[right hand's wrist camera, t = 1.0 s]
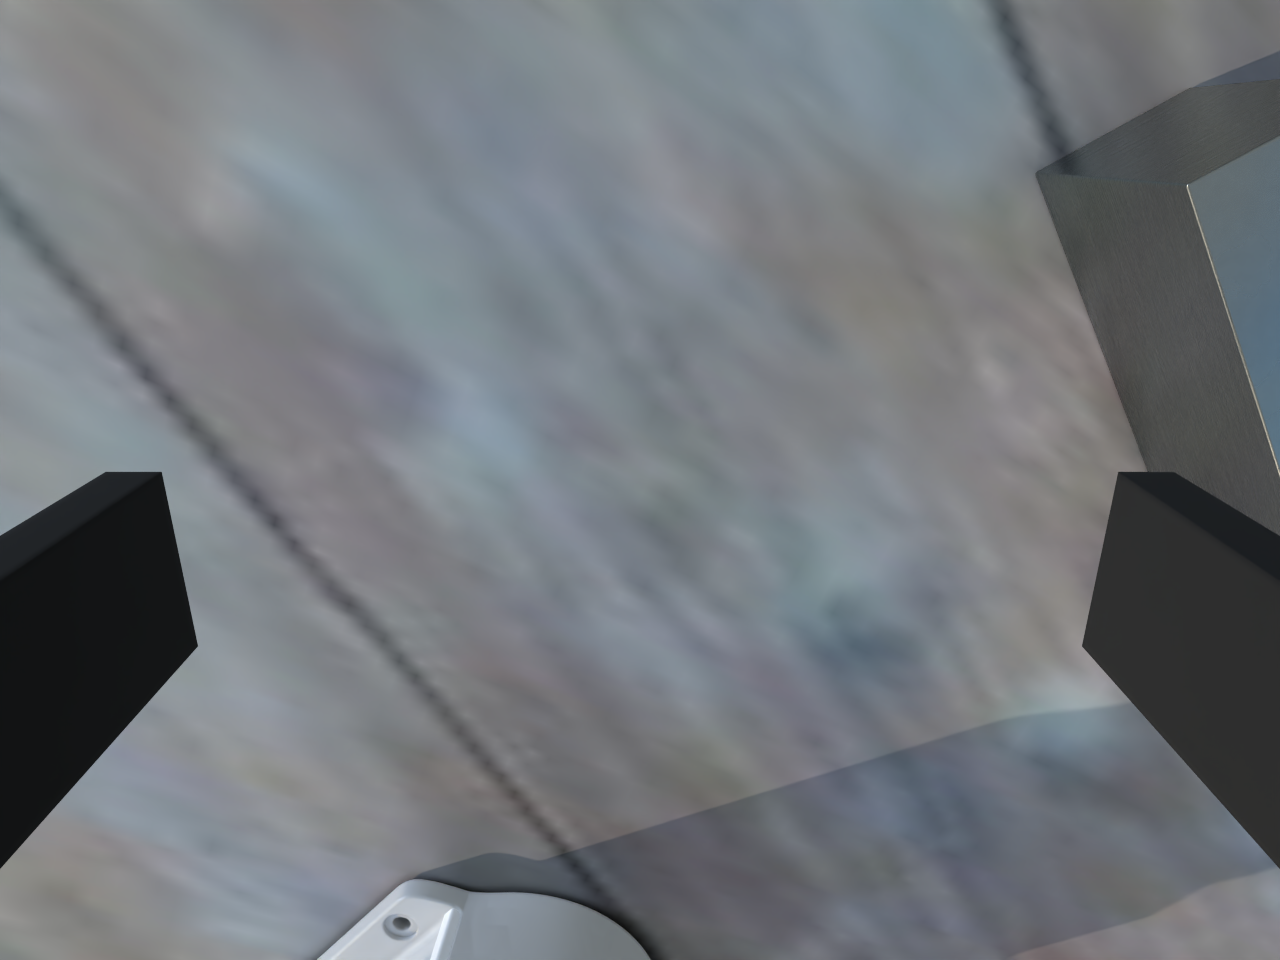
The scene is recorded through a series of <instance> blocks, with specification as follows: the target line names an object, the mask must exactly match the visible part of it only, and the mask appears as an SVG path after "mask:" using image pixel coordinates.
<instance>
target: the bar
mask: <svg viewBox="0 0 1280 960" xmlns="http://www.w3.org/2000/svg"><path fill="white" fill-rule="evenodd" d="M1036 177H1037V180H1038V183H1039V185H1040V188H1041V191H1042V193H1043V196H1044V198H1045V201H1046V204H1047V206H1048V209H1049V212H1050V214H1051V217H1052V220H1053V222H1054V225H1055V227H1056V230H1057V233H1058V235H1059V238H1060V241H1061V243H1062V246H1063V249H1064V251H1065V254H1066V256H1067V259H1068V262H1069V264H1070V267H1071V270H1072V272H1073V275H1074V278H1075V280H1076V283H1077V285H1078V288H1079V291H1080V293H1081V296H1082V299H1083V301H1084V304H1085V307H1086V309H1087V312H1088V315H1089V317H1090V320H1091V322H1092V325H1093V328H1094V330H1095V333H1096V336H1097V338H1098V341H1099V344H1100V346H1101V349H1102V351H1103V354H1104V357H1105V359H1106V362H1107V365H1108V367H1109V370H1110V373H1111V375H1112V378H1113V380H1114V383H1115V386H1116V388H1117V391H1118V394H1119V396H1120V399H1121V402H1122V404H1123V407H1124V410H1125V412H1126V415H1127V417H1128V420H1129V423H1130V425H1131V428H1132V431H1133V433H1134V436H1135V439H1136V441H1137V444H1138V446H1139V449H1140V452H1141V454H1142V457H1143V460H1144V462H1145V465H1146V468H1147V470H1148V472H1175V473H1177V474H1178V475H1180V476H1182V477H1183V478H1185V479H1187V480H1188V481H1190V482H1192V483H1193V484H1195V485H1197V486H1198V487H1200V488H1202V489H1203V490H1205V491H1206V492H1208V493H1210V494H1211V495H1213V496H1215V497H1216V498H1218V499H1220V500H1221V501H1223V502H1225V503H1226V504H1228V505H1230V506H1231V507H1233V508H1235V509H1236V510H1238V511H1240V512H1241V513H1243V514H1244V515H1246V516H1248V517H1249V518H1251V519H1253V520H1254V521H1256V522H1258V523H1259V524H1261V525H1263V526H1264V527H1266V528H1268V529H1269V530H1271V531H1273V532H1274V533H1276V534H1278V535H1279V536H1280V79H1276V80H1266V81H1256V82H1246V83H1236V84H1226V85H1216V86H1206V87H1196V88H1189V89H1188V90H1186V91H1184V92H1182V93H1180V94H1178V95H1177V96H1175V97H1173V98H1171V99H1169V100H1167V101H1166V102H1164V103H1162V104H1160V105H1158V106H1157V107H1155V108H1153V109H1151V110H1149V111H1147V112H1146V113H1144V114H1142V115H1140V116H1138V117H1136V118H1135V119H1133V120H1131V121H1129V122H1127V123H1126V124H1124V125H1122V126H1120V127H1118V128H1116V129H1115V130H1113V131H1111V132H1109V133H1107V134H1105V135H1104V136H1102V137H1100V138H1098V139H1096V140H1094V141H1093V142H1091V143H1089V144H1087V145H1085V146H1084V147H1082V148H1080V149H1078V150H1076V151H1074V152H1073V153H1071V154H1069V155H1067V156H1065V157H1063V158H1062V159H1060V160H1058V161H1056V162H1054V163H1053V164H1051V165H1049V166H1047V167H1045V168H1043V169H1042V170H1040V171H1038V172H1037V173H1036Z"/></svg>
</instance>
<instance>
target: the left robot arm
mask: <svg viewBox="0 0 1280 960" xmlns="http://www.w3.org/2000/svg"><path fill="white" fill-rule="evenodd" d="M317 960H651V959H650V958H649V956H648V954H647V953H646V951H645V950H644V949H643V947H642V946H641V945H640V944H639V943H638V942H637V940H636V939H635V938H634V937H633V936H632V935H630V934H629V933H628V932H627V931H626V930H625V929H624V928H622V927H621V926H620V925H618V924H617V923H615V922H614V921H612V920H611V919H609V918H608V917H606V916H604V915H602V914H601V913H599V912H597V911H595V910H592V909H590V908H588V907H586V906H583V905H581V904H578V903H575V902H572V901H569V900H565V899H561V898H558V897H553V896H548V895H542V894H534V893H522V892H498V893H483V892H470V891H466V890H463V889H460V888H457V887H453V886H450V885H447V884H443V883H439V882H435V881H430V880H424V879H413V880H409V881H406V882H404V883H402V884H401V885H399V886H398V887H397V888H396V889H395V890H393V891H392V892H391V893H390V894H389V895H388V896H387V897H386V898H385V899H383V900H382V901H381V902H380V903H379V904H378V905H377V906H376V907H375V908H373V909H372V910H371V911H370V912H369V913H368V914H367V915H366V916H365V917H364V918H362V919H361V920H360V921H359V922H358V923H357V924H356V925H355V926H354V927H352V928H351V929H350V930H349V931H348V932H347V933H346V934H345V935H344V936H342V937H341V938H340V939H339V940H338V941H337V942H336V943H335V944H334V945H332V946H331V947H330V948H329V949H328V950H327V951H326V952H325V953H324V954H322V955H321V956H320V957H319V958H318V959H317Z"/></svg>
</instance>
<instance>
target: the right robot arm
mask: <svg viewBox="0 0 1280 960" xmlns="http://www.w3.org/2000/svg"><path fill="white" fill-rule="evenodd" d="M197 647H198V644H197V639H196V635H195V630H194V625H193V620H192V615H191V611H190V606H189V601H188V596H187V591H186V587H185V582H184V577H183V572H182V567H181V563H180V558H179V553H178V548H177V544H176V539H175V534H174V529H173V524H172V520H171V515H170V510H169V505H168V500H167V496H166V491H165V486H164V481H163V476H162V472H105V473H103V474H102V475H100V476H98V477H97V478H95V479H93V480H92V481H90V482H88V483H87V484H85V485H83V486H82V487H80V488H78V489H77V490H75V491H74V492H72V493H70V494H69V495H67V496H65V497H64V498H62V499H60V500H59V501H57V502H55V503H54V504H52V505H50V506H49V507H47V508H45V509H44V510H42V511H40V512H39V513H37V514H36V515H34V516H32V517H31V518H29V519H27V520H26V521H24V522H22V523H21V524H19V525H17V526H16V527H14V528H12V529H11V530H9V531H7V532H6V533H4V534H2V535H1V536H0V868H1V867H2V866H3V865H4V864H5V863H6V862H7V860H8V859H9V858H10V857H11V856H12V855H13V854H14V853H15V851H16V850H17V849H18V848H19V847H20V846H21V845H22V844H23V842H24V841H25V840H26V839H27V838H28V837H29V836H30V835H31V833H32V832H33V831H34V830H35V829H36V828H37V827H38V826H39V824H40V823H41V822H42V821H43V820H44V819H45V818H46V817H47V815H48V814H49V813H50V812H51V811H52V810H53V809H54V808H55V806H56V805H57V804H58V803H59V802H60V801H61V800H62V799H63V797H64V796H65V795H66V794H67V793H68V792H69V791H70V790H71V788H72V787H73V786H74V785H75V784H76V783H77V782H78V781H79V779H80V778H81V777H82V776H83V775H84V774H85V773H86V772H87V770H88V769H89V768H90V767H91V766H92V765H93V764H94V763H95V761H96V760H97V759H98V758H99V757H100V756H101V755H102V754H103V752H104V751H105V750H106V749H107V748H108V747H109V746H110V745H111V743H112V742H113V741H114V740H115V739H116V738H117V737H118V736H119V734H120V733H121V732H122V731H123V730H124V729H125V728H126V727H127V725H128V724H129V723H130V722H131V721H132V720H133V719H134V718H135V716H136V715H137V714H138V713H139V712H140V711H141V710H142V709H143V707H144V706H145V705H146V704H147V703H148V702H149V701H150V700H151V698H152V697H153V696H154V695H155V694H156V693H157V692H158V691H159V689H160V688H161V687H162V686H163V685H164V684H165V683H166V682H167V680H168V679H169V678H170V677H171V676H172V675H173V674H174V673H175V671H176V670H177V669H178V668H179V667H180V666H181V665H182V664H183V662H184V661H185V660H186V659H187V658H188V657H189V656H190V655H191V653H192V652H193V651H194V650H195V649H196V648H197ZM1082 647H1083V648H1084V649H1085V650H1086V651H1087V652H1088V653H1089V655H1090V656H1091V657H1092V658H1093V659H1094V660H1095V661H1096V662H1097V664H1098V665H1099V666H1100V667H1101V668H1102V669H1103V670H1104V671H1105V673H1106V674H1107V675H1108V676H1109V677H1110V678H1111V679H1112V680H1113V682H1114V683H1115V684H1116V685H1117V686H1118V687H1119V688H1120V689H1121V691H1122V692H1123V693H1124V694H1125V695H1126V696H1127V697H1128V698H1129V700H1130V701H1131V702H1132V703H1133V704H1134V705H1135V706H1136V707H1137V709H1138V710H1139V711H1140V712H1141V713H1142V714H1143V715H1144V716H1145V718H1146V719H1147V720H1148V721H1149V722H1150V723H1151V724H1152V725H1153V727H1154V728H1155V729H1156V730H1157V731H1158V732H1159V733H1160V734H1161V736H1162V737H1163V738H1164V739H1165V740H1166V741H1167V742H1168V743H1169V745H1170V746H1171V747H1172V748H1173V749H1174V750H1175V751H1176V752H1177V754H1178V755H1179V756H1180V757H1181V758H1182V759H1183V760H1184V761H1185V763H1186V764H1187V765H1188V766H1189V767H1190V768H1191V769H1192V770H1193V772H1194V773H1195V774H1196V775H1197V776H1198V777H1199V778H1200V779H1201V781H1202V782H1203V783H1204V784H1205V785H1206V786H1207V787H1208V788H1209V790H1210V791H1211V792H1212V793H1213V794H1214V795H1215V796H1216V797H1217V799H1218V800H1219V801H1220V802H1221V803H1222V804H1223V805H1224V806H1225V808H1226V809H1227V810H1228V811H1229V812H1230V813H1231V814H1232V815H1233V817H1234V818H1235V819H1236V820H1237V821H1238V822H1239V823H1240V824H1241V826H1242V827H1243V828H1244V829H1245V830H1246V831H1247V832H1248V833H1249V835H1250V836H1251V837H1252V838H1253V839H1254V840H1255V841H1256V842H1257V844H1258V845H1259V846H1260V847H1261V848H1262V849H1263V850H1264V851H1265V853H1266V854H1267V855H1268V856H1269V857H1270V858H1271V859H1272V860H1273V862H1274V863H1275V864H1276V865H1277V866H1278V867H1279V868H1280V536H1279V535H1278V534H1276V533H1274V532H1273V531H1271V530H1269V529H1268V528H1266V527H1264V526H1263V525H1261V524H1259V523H1258V522H1256V521H1254V520H1253V519H1251V518H1249V517H1248V516H1246V515H1244V514H1243V513H1241V512H1240V511H1238V510H1236V509H1235V508H1233V507H1231V506H1230V505H1228V504H1226V503H1225V502H1223V501H1221V500H1220V499H1218V498H1216V497H1215V496H1213V495H1211V494H1210V493H1208V492H1206V491H1205V490H1203V489H1202V488H1200V487H1198V486H1197V485H1195V484H1193V483H1192V482H1190V481H1188V480H1187V479H1185V478H1183V477H1182V476H1180V475H1178V474H1177V473H1175V472H1118V476H1117V481H1116V486H1115V491H1114V496H1113V500H1112V505H1111V510H1110V515H1109V520H1108V524H1107V529H1106V534H1105V539H1104V544H1103V548H1102V553H1101V558H1100V563H1099V567H1098V572H1097V577H1096V582H1095V587H1094V591H1093V596H1092V601H1091V606H1090V611H1089V615H1088V620H1087V625H1086V630H1085V635H1084V639H1083V644H1082Z"/></svg>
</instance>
